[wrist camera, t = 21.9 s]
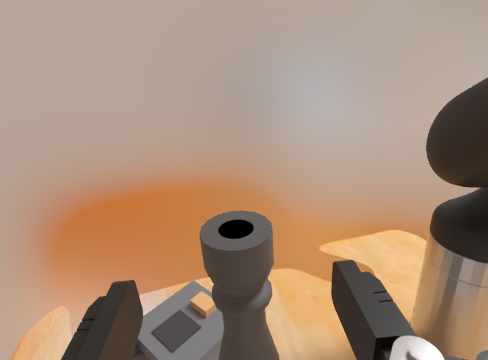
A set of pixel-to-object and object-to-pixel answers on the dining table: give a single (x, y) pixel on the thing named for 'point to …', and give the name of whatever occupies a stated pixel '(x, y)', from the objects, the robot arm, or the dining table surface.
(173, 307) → the grey compartment tray
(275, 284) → the dining table surface
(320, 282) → the dining table surface
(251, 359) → the candle holder
